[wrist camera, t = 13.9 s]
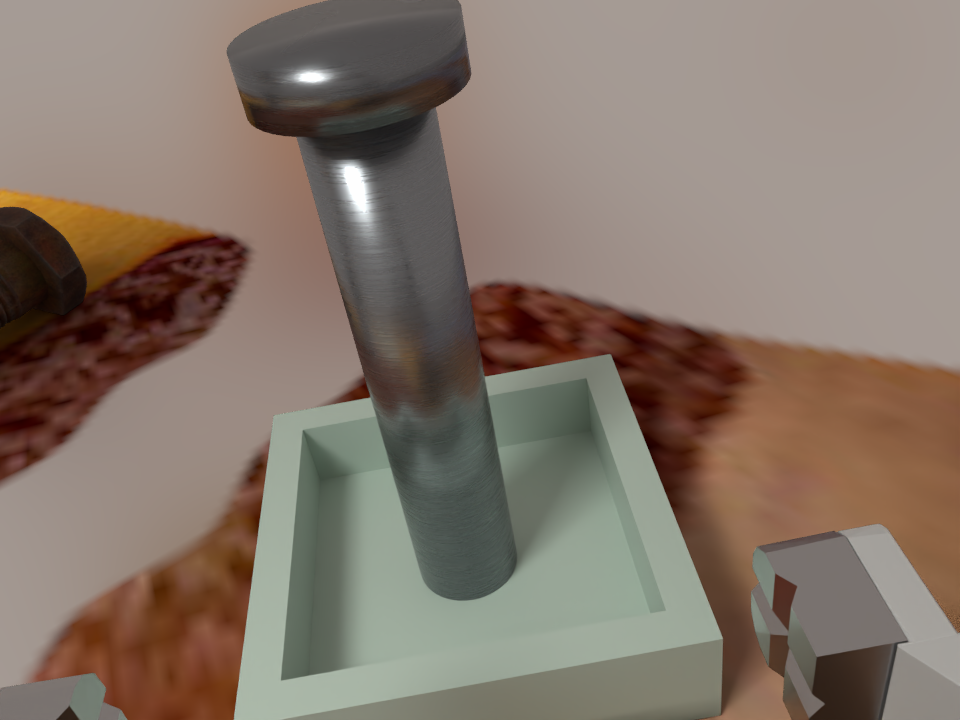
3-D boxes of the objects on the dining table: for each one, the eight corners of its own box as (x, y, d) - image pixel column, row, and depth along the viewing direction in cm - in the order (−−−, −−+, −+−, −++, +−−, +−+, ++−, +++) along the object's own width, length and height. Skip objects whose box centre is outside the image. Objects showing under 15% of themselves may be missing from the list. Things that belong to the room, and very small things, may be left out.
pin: (394, 638, 23) (210, 87, 15) (390, 518, 27) (241, 16, 18) (557, 608, 23) (472, 38, 15) (532, 492, 27) (451, -23, 18)
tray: (271, 797, 21) (232, 728, 20) (298, 482, 30) (273, 415, 28) (720, 715, 21) (723, 639, 20) (615, 424, 30) (610, 354, 28)
